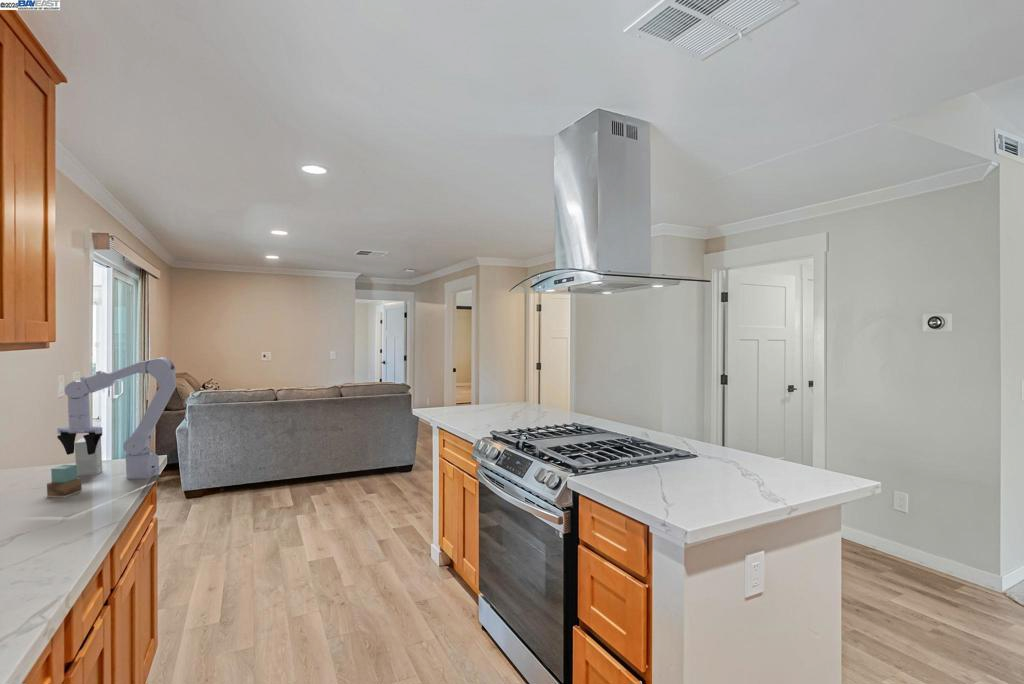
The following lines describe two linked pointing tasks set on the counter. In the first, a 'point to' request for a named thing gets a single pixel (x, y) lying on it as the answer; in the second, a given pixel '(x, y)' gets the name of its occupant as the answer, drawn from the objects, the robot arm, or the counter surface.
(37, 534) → the counter surface
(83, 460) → the small box
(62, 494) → the walnut block
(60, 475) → the teal block
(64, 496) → the mat
